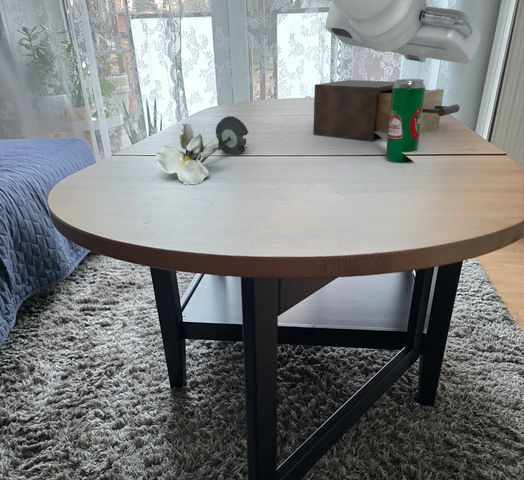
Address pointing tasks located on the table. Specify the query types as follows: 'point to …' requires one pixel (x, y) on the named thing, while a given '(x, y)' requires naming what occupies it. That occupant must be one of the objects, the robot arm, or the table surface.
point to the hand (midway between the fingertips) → (418, 55)
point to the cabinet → (348, 109)
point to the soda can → (405, 119)
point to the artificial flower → (201, 150)
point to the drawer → (429, 113)
